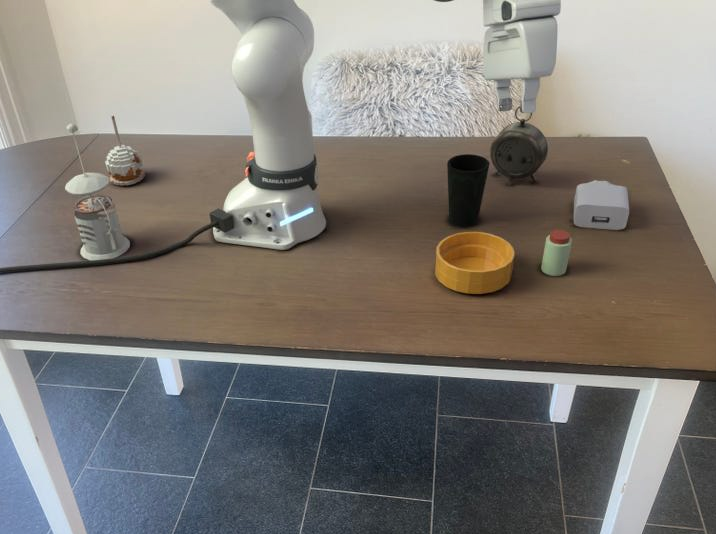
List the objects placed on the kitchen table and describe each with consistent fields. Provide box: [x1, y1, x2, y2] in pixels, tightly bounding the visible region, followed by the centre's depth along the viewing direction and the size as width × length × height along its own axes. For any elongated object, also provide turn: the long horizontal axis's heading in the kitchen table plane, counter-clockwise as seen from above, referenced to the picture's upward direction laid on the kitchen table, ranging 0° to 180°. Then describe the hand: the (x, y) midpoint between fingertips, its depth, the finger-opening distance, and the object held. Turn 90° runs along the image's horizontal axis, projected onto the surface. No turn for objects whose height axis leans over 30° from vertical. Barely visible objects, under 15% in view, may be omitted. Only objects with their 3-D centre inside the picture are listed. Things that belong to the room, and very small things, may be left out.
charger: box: [573, 179, 630, 231], centre depth 138 cm, size 5×9×15 cm
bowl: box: [434, 231, 516, 295], centre depth 124 cm, size 13×13×5 cm
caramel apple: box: [104, 114, 146, 186], centre depth 159 cm, size 8×8×15 cm
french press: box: [64, 123, 131, 261], centre depth 132 cm, size 10×12×25 cm
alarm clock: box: [489, 105, 549, 186], centre depth 146 cm, size 11×5×16 cm, turn 58°
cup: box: [446, 153, 490, 228], centre depth 136 cm, size 8×8×12 cm
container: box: [540, 229, 573, 277], centre depth 123 cm, size 4×4×7 cm
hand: (515, 111), depth 106 cm, fingers open, 8 cm apart
